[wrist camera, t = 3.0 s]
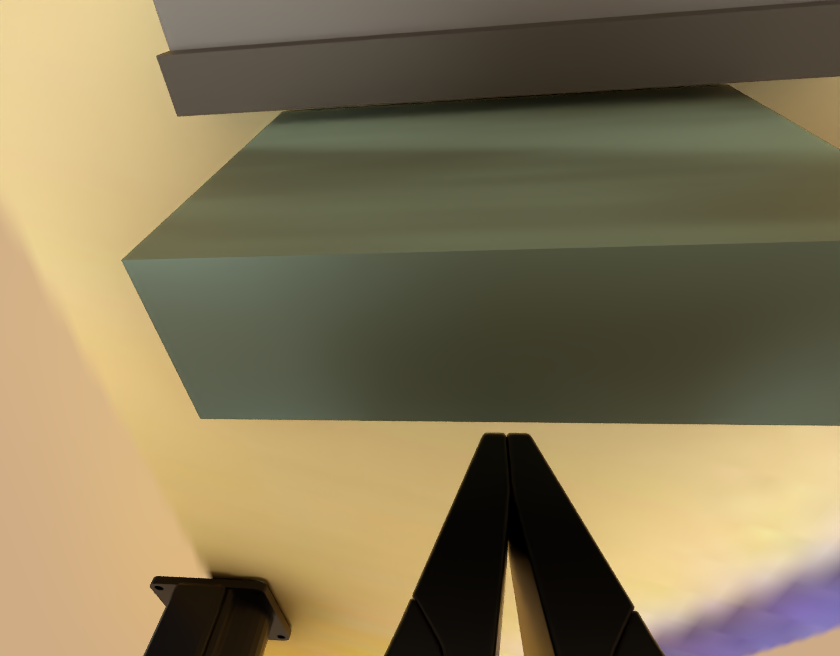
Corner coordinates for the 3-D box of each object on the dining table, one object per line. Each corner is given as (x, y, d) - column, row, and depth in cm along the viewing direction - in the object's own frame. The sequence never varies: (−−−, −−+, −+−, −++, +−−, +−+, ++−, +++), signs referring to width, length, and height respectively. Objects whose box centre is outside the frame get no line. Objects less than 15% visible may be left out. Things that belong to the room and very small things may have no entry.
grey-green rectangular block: (693, 214, 13) (861, 425, 7) (308, 226, 14) (200, 418, 8) (728, 85, 11) (989, 236, 5) (282, 111, 12) (122, 260, 7)
